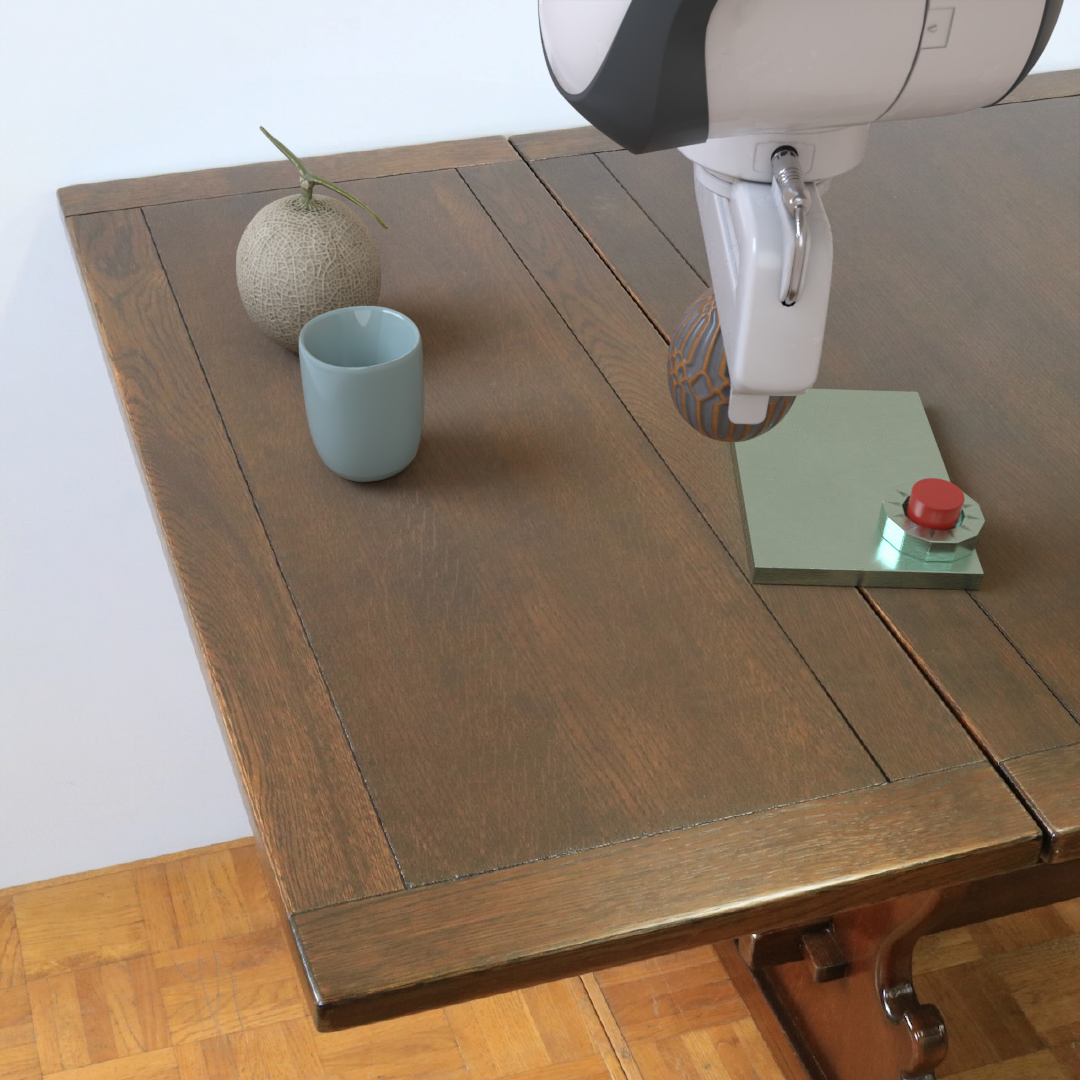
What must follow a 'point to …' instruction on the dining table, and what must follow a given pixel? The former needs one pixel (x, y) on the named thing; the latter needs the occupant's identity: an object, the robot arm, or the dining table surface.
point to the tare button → (935, 504)
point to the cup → (363, 390)
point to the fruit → (305, 259)
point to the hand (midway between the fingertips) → (735, 369)
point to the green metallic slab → (850, 497)
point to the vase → (710, 376)
